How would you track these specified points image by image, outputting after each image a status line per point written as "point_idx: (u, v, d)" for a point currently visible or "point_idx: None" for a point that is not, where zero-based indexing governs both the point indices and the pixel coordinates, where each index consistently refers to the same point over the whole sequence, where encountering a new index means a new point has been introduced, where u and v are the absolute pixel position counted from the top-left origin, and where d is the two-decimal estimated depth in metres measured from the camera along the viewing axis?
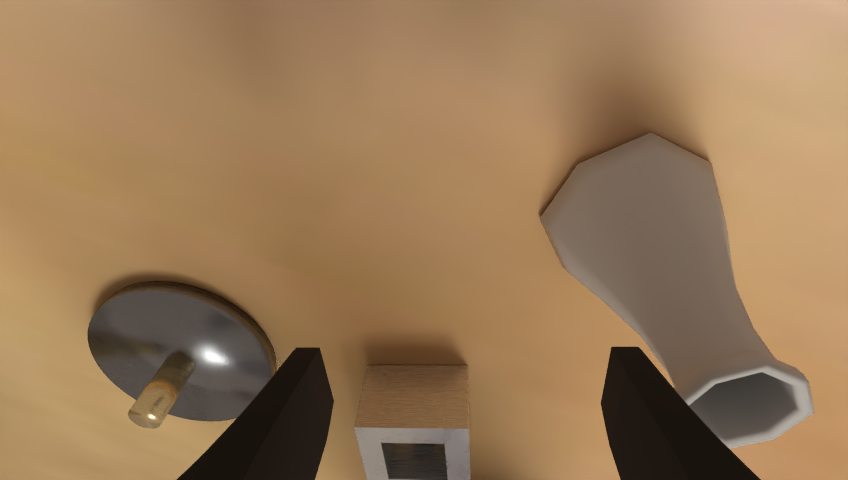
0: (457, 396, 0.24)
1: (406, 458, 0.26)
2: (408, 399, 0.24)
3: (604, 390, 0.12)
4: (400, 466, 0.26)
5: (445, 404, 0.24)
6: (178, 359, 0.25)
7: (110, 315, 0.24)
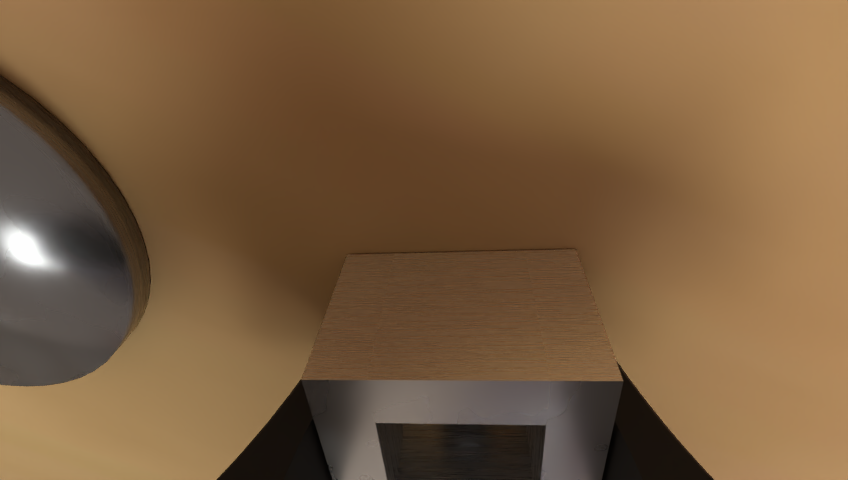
0: (569, 307, 0.10)
1: (434, 463, 0.12)
2: (445, 315, 0.10)
3: None
4: None
5: (542, 324, 0.09)
6: None
7: None
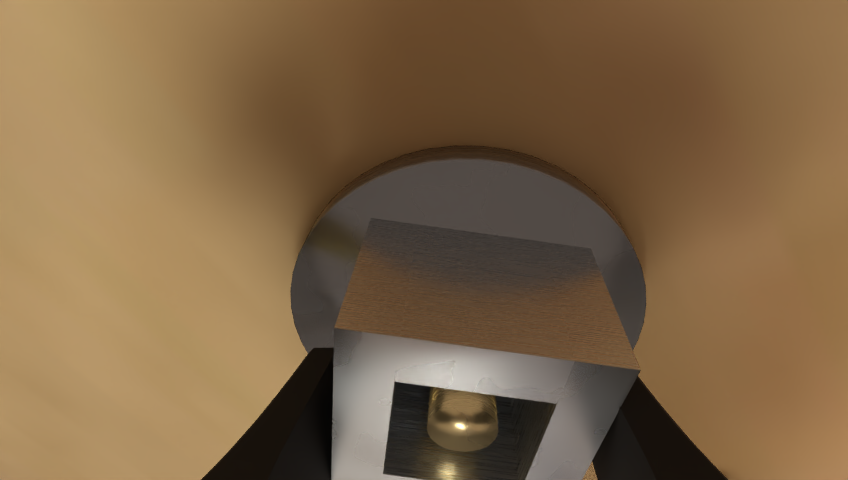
0: (588, 299, 0.10)
1: (423, 433, 0.12)
2: (472, 288, 0.10)
3: None
4: (410, 449, 0.11)
5: (564, 310, 0.10)
6: None
7: (441, 186, 0.11)
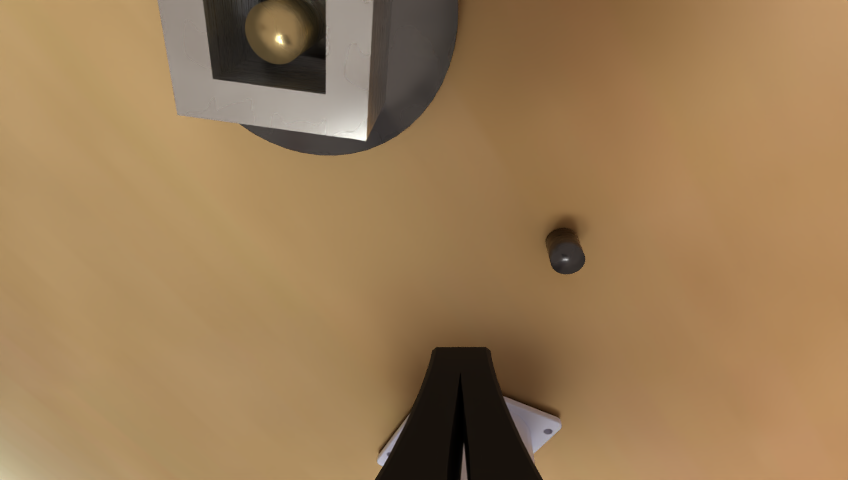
0: None
1: (258, 72, 0.14)
2: None
3: None
4: (243, 75, 0.14)
5: None
6: (322, 0, 0.15)
7: None
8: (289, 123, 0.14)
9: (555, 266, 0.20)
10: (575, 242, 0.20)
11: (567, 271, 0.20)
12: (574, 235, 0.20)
